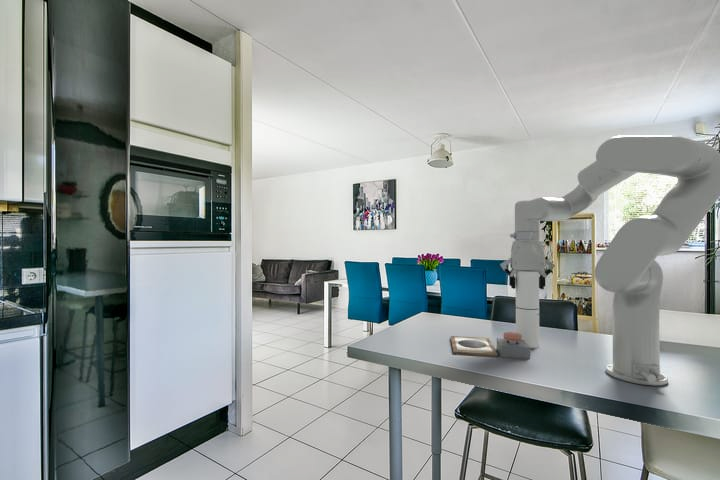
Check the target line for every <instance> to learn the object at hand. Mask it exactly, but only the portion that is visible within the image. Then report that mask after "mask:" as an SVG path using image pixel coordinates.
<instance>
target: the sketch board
mask: <svg viewBox="0 0 720 480" xmlns="http://www.w3.org/2000/svg"><path fill="white" fill-rule="evenodd" d="M450 342H451V347H452V354H453V355H462V356H463V355H464V356H477V357H478V356H480V357H493V358H494V357H499V352H498V351H497V349H495V347H494V345H493V343H492V341H491V340H490V338H489V337H475V336H457V335H456V336H455V335H451V336H450Z"/></svg>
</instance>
